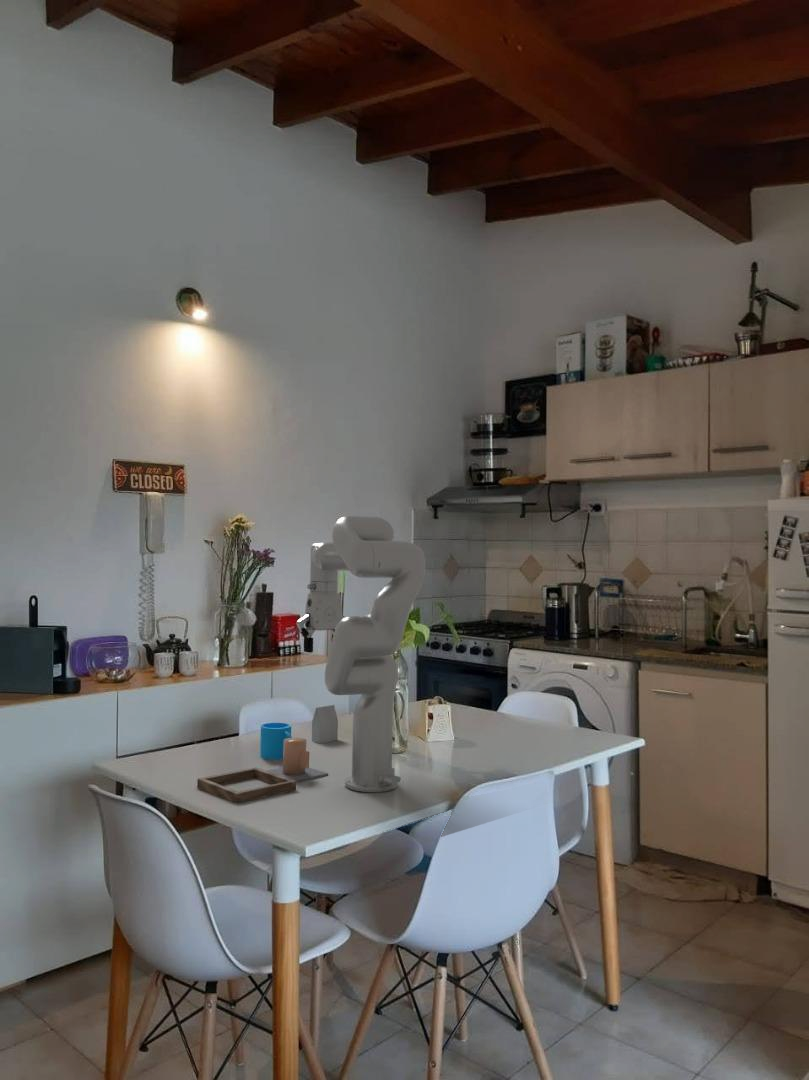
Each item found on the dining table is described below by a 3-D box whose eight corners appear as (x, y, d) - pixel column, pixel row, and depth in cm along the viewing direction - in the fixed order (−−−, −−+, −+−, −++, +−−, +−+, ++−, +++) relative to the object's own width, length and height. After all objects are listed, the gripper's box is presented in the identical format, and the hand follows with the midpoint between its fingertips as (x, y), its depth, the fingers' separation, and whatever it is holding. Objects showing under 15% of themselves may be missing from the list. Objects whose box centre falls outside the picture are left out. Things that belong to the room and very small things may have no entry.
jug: (278, 771, 222) (279, 739, 222) (295, 768, 226) (296, 736, 226) (298, 778, 216) (299, 745, 216) (315, 774, 220) (317, 742, 220)
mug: (254, 755, 241) (254, 725, 241) (279, 750, 247) (279, 721, 247) (279, 763, 232) (280, 732, 232) (305, 759, 238) (305, 728, 238)
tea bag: (337, 739, 262) (338, 705, 262) (320, 743, 257) (320, 708, 257) (329, 737, 264) (329, 704, 264) (311, 741, 260) (312, 706, 260)
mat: (327, 775, 222) (328, 773, 222) (288, 783, 213) (288, 781, 213) (298, 766, 230) (298, 764, 230) (259, 773, 222) (259, 771, 222)
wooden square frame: (296, 789, 208) (296, 781, 208) (236, 802, 197) (236, 793, 197) (255, 775, 220) (255, 767, 220) (197, 787, 209) (197, 778, 209)
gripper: (307, 589, 234) (305, 654, 234) (356, 588, 246) (355, 650, 246) (289, 588, 240) (288, 651, 240) (339, 586, 252) (338, 647, 252)
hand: (322, 650), depth 243 cm, fingers open, 9 cm apart
